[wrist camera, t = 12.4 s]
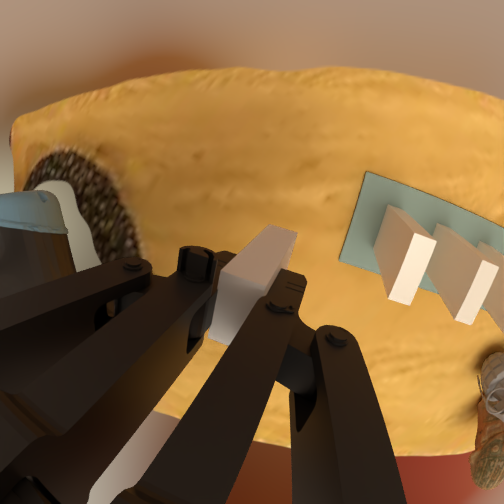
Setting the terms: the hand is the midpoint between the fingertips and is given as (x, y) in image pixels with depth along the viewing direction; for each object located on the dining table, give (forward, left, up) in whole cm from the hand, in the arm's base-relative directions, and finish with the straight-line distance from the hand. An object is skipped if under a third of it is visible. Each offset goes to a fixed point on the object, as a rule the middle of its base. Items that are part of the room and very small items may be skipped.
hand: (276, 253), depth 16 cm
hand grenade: (+32, -12, -18) cm, 38 cm away
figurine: (+37, -20, -18) cm, 46 cm away
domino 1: (+9, 0, -17) cm, 19 cm away
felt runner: (+21, 0, -18) cm, 27 cm away
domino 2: (+15, 0, -17) cm, 22 cm away
